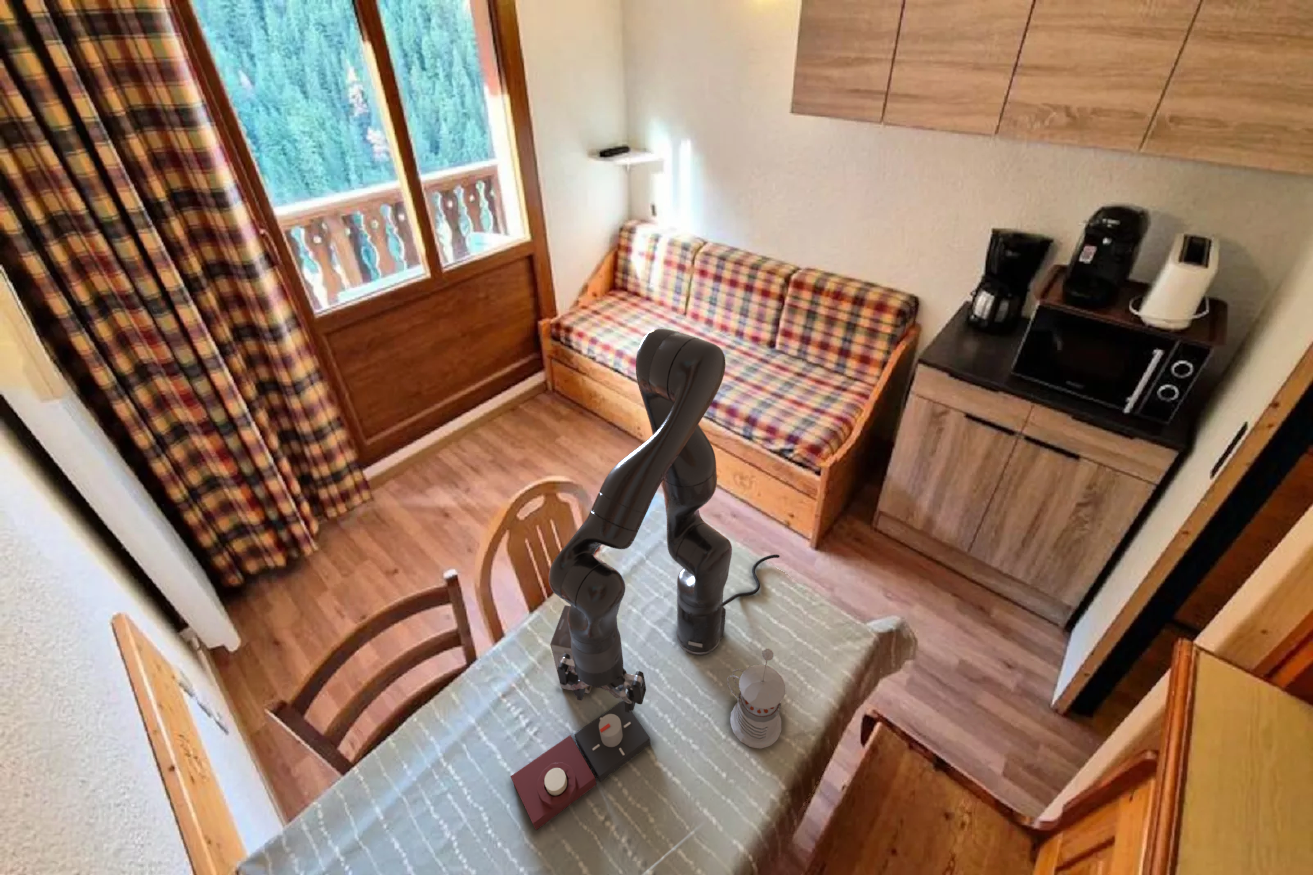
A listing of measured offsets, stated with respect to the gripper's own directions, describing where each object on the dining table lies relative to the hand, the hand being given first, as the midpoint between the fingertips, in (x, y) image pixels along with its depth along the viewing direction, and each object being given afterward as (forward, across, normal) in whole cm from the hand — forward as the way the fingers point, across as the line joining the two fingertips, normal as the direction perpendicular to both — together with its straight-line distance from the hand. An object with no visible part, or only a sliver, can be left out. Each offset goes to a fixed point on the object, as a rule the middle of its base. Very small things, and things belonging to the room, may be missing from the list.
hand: (605, 701), depth 98 cm
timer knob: (+13, 0, 0) cm, 13 cm away
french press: (+16, -25, -11) cm, 31 cm away
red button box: (+16, +8, +9) cm, 20 cm away
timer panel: (+16, 0, 0) cm, 16 cm away
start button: (+12, +6, +11) cm, 17 cm away
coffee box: (+16, +10, -12) cm, 23 cm away
